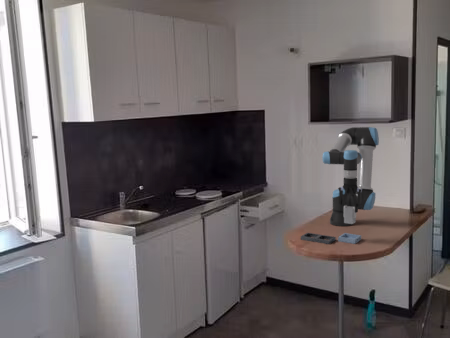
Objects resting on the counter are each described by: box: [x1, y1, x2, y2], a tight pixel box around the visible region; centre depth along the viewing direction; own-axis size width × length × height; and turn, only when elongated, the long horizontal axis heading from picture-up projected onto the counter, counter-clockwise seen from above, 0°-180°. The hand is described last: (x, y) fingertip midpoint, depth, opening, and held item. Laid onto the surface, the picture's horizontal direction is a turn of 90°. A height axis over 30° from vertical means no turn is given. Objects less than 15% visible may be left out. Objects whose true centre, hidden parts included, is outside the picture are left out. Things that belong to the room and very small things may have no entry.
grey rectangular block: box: [344, 206, 357, 225], centre depth 261 cm, size 5×5×9 cm
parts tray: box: [337, 232, 362, 245], centre depth 263 cm, size 10×10×2 cm
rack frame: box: [300, 232, 337, 245], centre depth 266 cm, size 9×18×2 cm, turn 53°
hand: (349, 217), depth 261 cm, fingers closed on grey rectangular block, 5 cm apart
